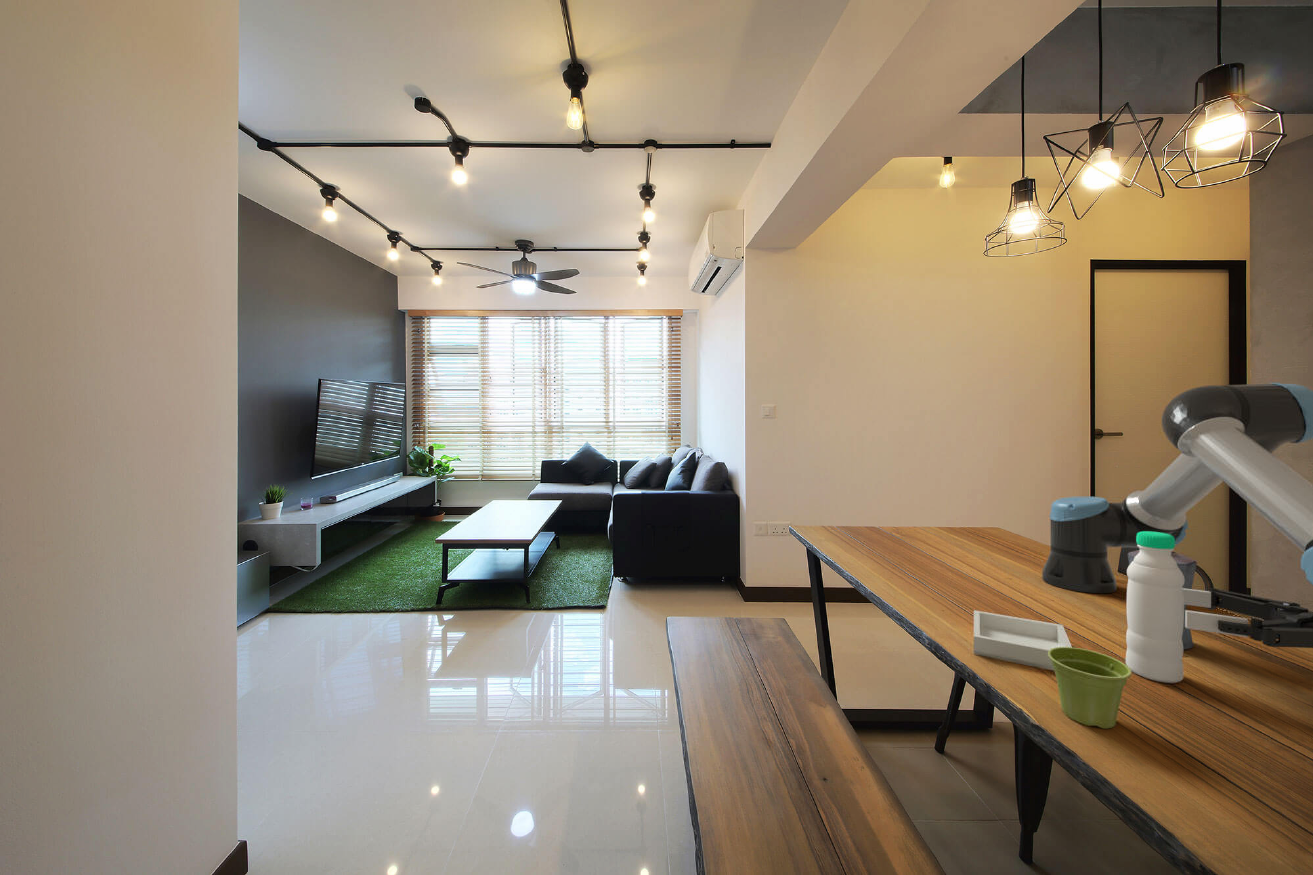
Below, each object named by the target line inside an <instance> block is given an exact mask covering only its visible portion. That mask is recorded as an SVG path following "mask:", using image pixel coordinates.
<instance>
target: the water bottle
mask: <svg viewBox="0 0 1313 875" xmlns="http://www.w3.org/2000/svg"><path fill="white" fill-rule="evenodd" d="M1136 542H1137V544H1138V545H1137V546H1138V547H1139V550H1140V552H1139V553H1138V554H1137V555H1136V556H1135V558H1134V561H1133V562H1132V563H1131V564H1130V565H1129V564H1128V567H1127V568H1126V575H1127V578H1128V581H1127V585H1126V620H1127V621H1126V622H1127V629H1126V635H1125V639H1126V640H1125V642H1126V647H1127V648H1126V653H1125V664H1126V665H1127V666H1128V667H1129V668H1130V669H1131V672H1133V673H1134V674H1135V675H1137V676H1140V677H1141V678H1145V679H1147V680H1151V681H1154V682H1160V683H1168V684H1175V683H1179V682H1181V681H1182V680H1183V679H1184V664H1183V655H1184V649H1183V642H1182V634H1183V625H1184V595H1183V587H1182V586H1183V585H1184V582H1185V579H1184V576H1183V574H1182V572H1181V571H1180V569H1179V568H1178V566H1177V563H1176V562H1175V560H1174V559H1173V558H1172V556H1171V553H1173V551H1175V550H1174V549H1175V547H1176V545H1175V538H1174V537H1173V536H1172V535H1169V534H1166V533H1160V532H1151V531H1142V532H1138V533H1137V536H1136Z"/></svg>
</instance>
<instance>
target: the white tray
mask: <svg viewBox="0 0 1313 875" xmlns="http://www.w3.org/2000/svg"><path fill="white" fill-rule="evenodd" d="M1056 647H1073V646H1072V643H1071V642H1070V639H1069V637H1068V635H1067V632H1066V630H1065V628H1064V625H1063V624H1059V623H1053V622H1048V621H1047V622H1046V621H1040V620H1036V619H1035V620H1034V619H1028V618H1023V617H1015V616H1011V615H1006V614H1005V615H1004V614H998V613H993V612H986V611H980V610H973V655H977V656H980V657H986V658H992V659H995V660H1001V661H1004V662H1009V663H1015V664H1021V665H1026V666H1029V667H1035V668H1038V669H1044V670H1048V671H1049V670H1050V671H1053V672H1055V669H1054V667H1053V665H1052V661H1051V659H1050V658H1049V656H1048V651H1049V650H1050V649H1052V648H1056Z"/></svg>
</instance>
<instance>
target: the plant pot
mask: <svg viewBox="0 0 1313 875" xmlns="http://www.w3.org/2000/svg"><path fill="white" fill-rule="evenodd" d="M1048 656H1049V658H1050V659H1051V661H1052V665H1053V667H1054V669H1055V671H1054V673H1055V679H1056V683H1057V688H1058V695H1059V700H1060V707H1061V709H1062V711H1063V713H1064V714H1065V715H1066V716H1067V717H1068V718H1070V719H1071V720H1073V721H1075V722H1076V723H1080V724H1081V725H1084V726H1088V727H1091V726H1094V727H1096V726H1097V727H1099V728H1101V729H1112V728H1113V727H1115V726H1116V724H1117V718H1118V714H1119V709H1120V703H1121V699H1122V694H1123V689H1124V686H1125V685H1126V684H1127V682H1128V681H1127V680H1128V679H1129V678H1130V677H1131V676H1132V671H1131V669H1130V668H1129V667H1128V666H1127V665H1126V663H1123V662H1122V661H1120V660H1119V659H1116V658H1115V657H1112V656H1109V655H1107V654H1104V653H1100V652H1098V651H1095V650H1094V651H1093V650H1090V649H1086V648H1080V647H1073V646H1072V647H1056V648H1052V649H1050V650H1049V651H1048Z"/></svg>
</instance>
